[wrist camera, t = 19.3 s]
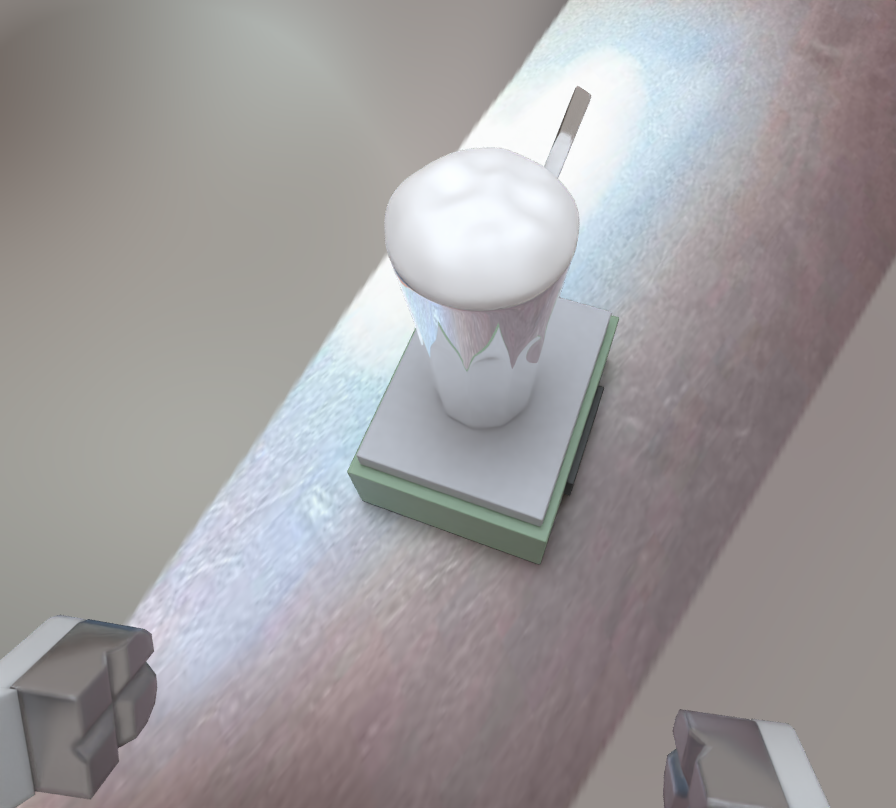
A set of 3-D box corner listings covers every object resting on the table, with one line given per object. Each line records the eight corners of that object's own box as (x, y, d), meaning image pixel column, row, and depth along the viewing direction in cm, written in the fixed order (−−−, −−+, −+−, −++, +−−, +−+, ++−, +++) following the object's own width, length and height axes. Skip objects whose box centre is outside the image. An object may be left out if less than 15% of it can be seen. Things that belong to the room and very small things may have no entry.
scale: (613, 360, 28) (630, 306, 24) (546, 567, 24) (556, 538, 21) (447, 312, 29) (441, 255, 26) (361, 500, 25) (341, 463, 22)
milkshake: (596, 377, 23) (664, 144, 14) (477, 475, 22) (468, 286, 13) (506, 296, 25) (515, 41, 16) (390, 382, 23) (328, 157, 14)
